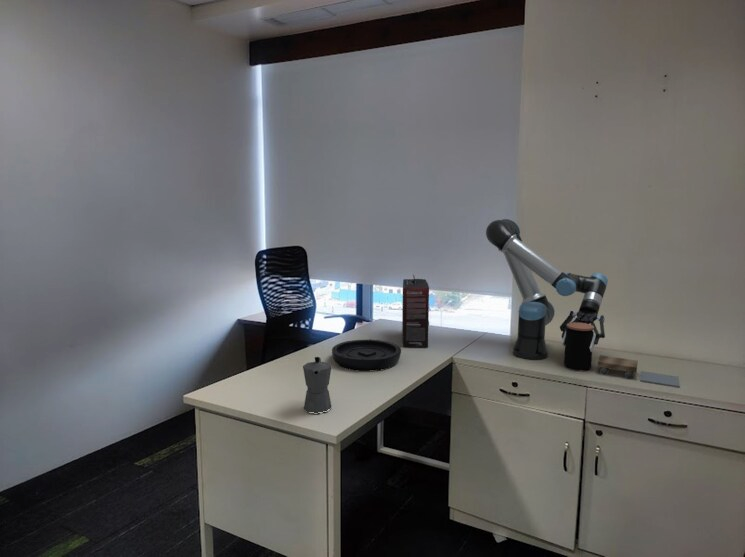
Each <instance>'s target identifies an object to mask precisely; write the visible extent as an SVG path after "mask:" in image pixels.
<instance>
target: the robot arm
mask: <svg viewBox="0 0 745 557" xmlns="http://www.w3.org/2000/svg"><path fill="white" fill-rule="evenodd" d="M520 234H521V230H520V227H519V224H518V223H517V222H516V221H514V220H512V219H507V218H504V219H496V220H493V221H492V222H490V223H489V224H488V225H487V227H486V230H485V236H486V239H487V240H488V242H490V244H492V245H493V246H494V247H495V248H497V249H498V251H499V252H500V253H503V256H504V257H505V260H506V262H507V265H508V267H509V269H510V272H511V274H512V276H513V279H514V281H515V284H516V286H517V288H518V291H519V292H520V295H521V297H522V301H521V304H520V305H519V308H518V322H517V338H516V340H515V343H514V345H513V347H512V354H513V355H514V356H515V357H518V358H521V359H525V360H526V359H527V360H534V361H535V360H536V361H537V360H544V359H547V358H548V355H549V351H548V348H547V345H546V344H547V343H546V338H545V337H546V335H545V334H546V326H547V325H548V324H550V323H551V322H552V321H553V319H554V316H555V308H554V305H553V304H552V303H551V302H550V301H549V300H548V298H547V296H546V293H543V292H542V291H541V290H540V288H539V285H538V283H537V280H536V278H535V276H534V274H535V275H537V276H538V277H540V278H541V279H542V280H544V281H545V282H546V283H548V284H550V286H552V288H554V289H555V291H556V292H557V294H558V295H560V296H562V297H568V296H569V297H570V296H572V295H574V294H575V292H577V293H582V294H583V298H582V300H581V304H580V305H579V309H578V312H574V310H570V312H569V314H568V316H567V317H566V318H565V320H563V322H562V323H561V325H560V326H559V329H560V331H561V332H562V333H561V338H562V341H561V343H560V344H561V346H562V347H564V348H565V340H566V330H567V324H568V323H573V322H577V323H586V324H590V325H593V326H594V330H593V332H594V336H593V339H592V342H591V345H590V351H591V352H592V353H593V351H594V348H595V345H598V344H599V341H600V339H604V338H606V335H605V334H606V333H605V325H604V323H605V316H604V315H603V314H602V315H599V311H600V307H601V305H602V302H603V298H604V296H605V293H606V289H607V286H608V280H609V279H608V277H607V276H606V275H605V274H602V273H600V272H594V273H592V274H591V275H590V276H584V275H579V274H575V273H571V272H565V271H564V272H563V270H561V269H560V268H558V267H557V266H556V265H554V264H553V263H552V262H550V261H549V260H547V259H546V258H545V257H543V256H542V255H540V254H539V253H538V252H537V251H535V250H534V249H532V248H531V247H529V246H528V245H527V244H526V243H524V242H523V240H522V238H521V235H520ZM533 273H534V274H533ZM575 317H576V318H575ZM573 319H574V320H573ZM597 320H598V322H599V328H600V332H599V330H598V329H597V325H596V324H595V321H597Z"/></svg>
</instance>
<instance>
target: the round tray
mask: <svg viewBox="0 0 745 557" xmlns="http://www.w3.org/2000/svg"><path fill="white" fill-rule="evenodd" d="M401 353H402V348H401V347H400V346H399V345H397V344H395V343H393V342H390V341H385V340H379V339H354V340H347V341H344V342H340V343H337V344H335V345H334V346H333V347H332V349H331V354H332V355H331V356H332V357H333V358H332V359H333V360H334V362H335V363H336V365H337V366H338V367H341V368H342V369H345V368H346V369H347V370H349V369H350V371H355V370H359V372H371V371H370V370H377V371H382V370H381V369H384V370H387V369H390V368H393V367H394V366H396V365H397V364H398V362H399V360H400V359H401ZM395 364H396V365H395ZM392 366H393V367H392ZM389 367H390V368H389ZM386 368H387V369H386Z"/></svg>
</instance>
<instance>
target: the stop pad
mask: <svg viewBox="0 0 745 557" xmlns="http://www.w3.org/2000/svg"><path fill="white" fill-rule="evenodd" d="M639 377H640V379H639V380H640V382H641V381H642V383H647V382H648V384H653V383H654V384H655V385H659V384H660V386H666V387H674V388H678V389H680V379H679V376H677V375H671V374H665V373H657V372H650V371H646V370H645V371H643V370H641V371H640V376H639Z"/></svg>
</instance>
